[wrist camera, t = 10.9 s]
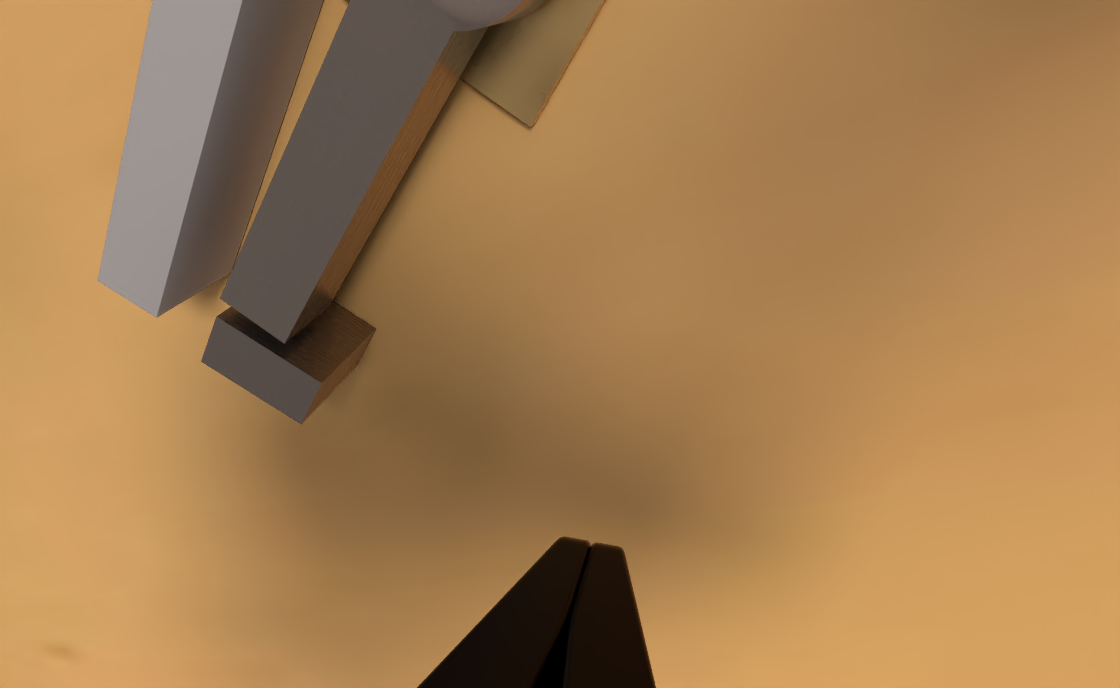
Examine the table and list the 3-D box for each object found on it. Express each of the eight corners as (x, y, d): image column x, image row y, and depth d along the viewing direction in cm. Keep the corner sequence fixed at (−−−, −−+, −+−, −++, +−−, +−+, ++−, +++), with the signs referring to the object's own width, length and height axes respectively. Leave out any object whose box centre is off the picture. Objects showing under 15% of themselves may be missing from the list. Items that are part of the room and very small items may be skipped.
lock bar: (463, -230, 14) (410, -267, 12) (611, -101, 15) (587, -113, 12) (251, 245, 21) (193, 279, 19) (355, 320, 22) (310, 361, 20)
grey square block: (285, 270, 22) (216, 316, 20) (375, 328, 23) (321, 383, 20) (268, 311, 24) (201, 361, 21) (355, 367, 24) (301, 424, 21)
